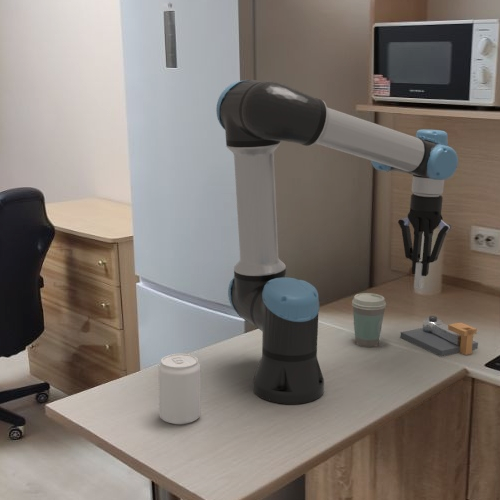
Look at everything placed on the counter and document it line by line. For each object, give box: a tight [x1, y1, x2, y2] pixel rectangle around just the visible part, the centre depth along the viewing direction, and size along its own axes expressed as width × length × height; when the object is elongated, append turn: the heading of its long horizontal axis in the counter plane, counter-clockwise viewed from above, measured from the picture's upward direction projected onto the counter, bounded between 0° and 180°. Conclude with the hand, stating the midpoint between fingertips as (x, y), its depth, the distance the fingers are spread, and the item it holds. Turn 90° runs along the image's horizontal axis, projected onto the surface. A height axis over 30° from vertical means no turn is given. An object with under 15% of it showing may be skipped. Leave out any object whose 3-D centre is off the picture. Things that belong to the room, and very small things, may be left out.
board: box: [399, 327, 479, 357], centre depth 194 cm, size 12×15×2 cm
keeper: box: [448, 322, 478, 356], centre depth 188 cm, size 4×6×6 cm
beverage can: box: [158, 353, 202, 425], centre depth 150 cm, size 8×8×12 cm
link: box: [422, 315, 461, 345], centre depth 194 cm, size 14×5×3 cm, turn 25°
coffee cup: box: [351, 292, 387, 348], centre depth 192 cm, size 8×8×12 cm
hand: (418, 287), depth 191 cm, fingers closed
